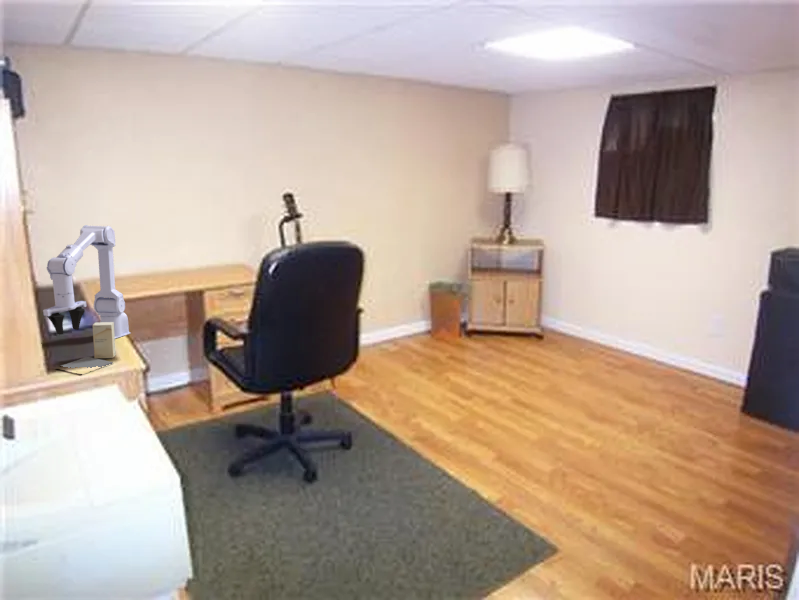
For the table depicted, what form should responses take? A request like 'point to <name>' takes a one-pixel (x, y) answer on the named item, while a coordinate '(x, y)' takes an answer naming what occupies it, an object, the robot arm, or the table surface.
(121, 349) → the table surface
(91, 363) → the mat
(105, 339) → the skincare box
